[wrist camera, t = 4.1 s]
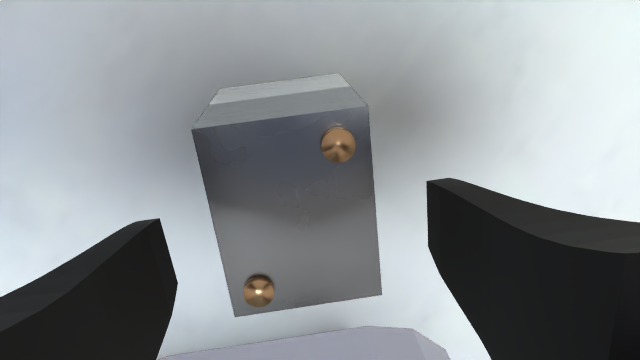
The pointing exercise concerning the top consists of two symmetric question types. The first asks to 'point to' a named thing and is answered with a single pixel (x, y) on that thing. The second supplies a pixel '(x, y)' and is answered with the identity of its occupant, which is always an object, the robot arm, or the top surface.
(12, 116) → the top surface
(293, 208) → the housing
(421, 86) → the top surface
